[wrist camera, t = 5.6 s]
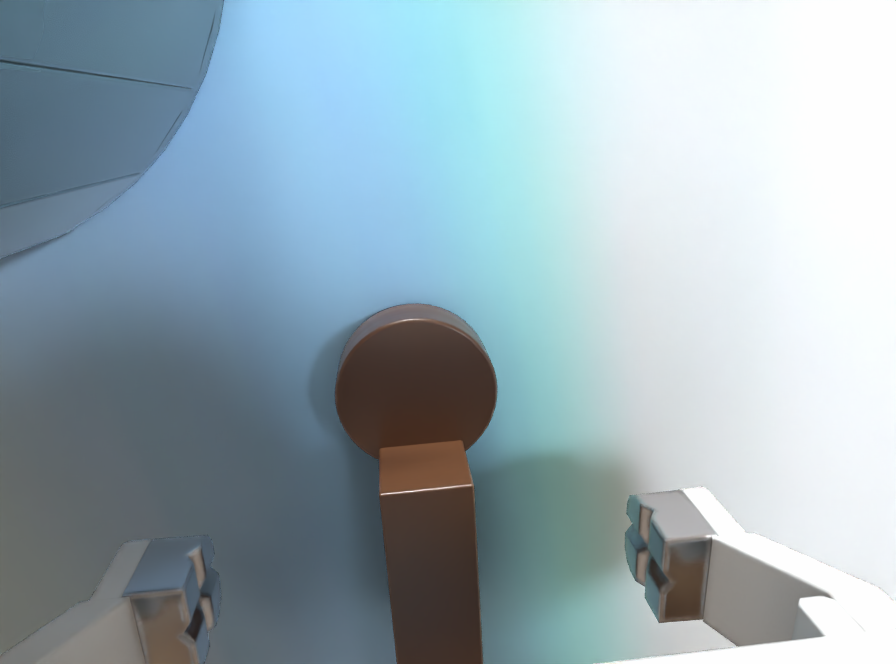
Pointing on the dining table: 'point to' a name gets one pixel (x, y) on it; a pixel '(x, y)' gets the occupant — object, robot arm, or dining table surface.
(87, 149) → the blue-grey round hollow container
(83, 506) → the dining table surface
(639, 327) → the dining table surface
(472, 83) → the dining table surface
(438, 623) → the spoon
